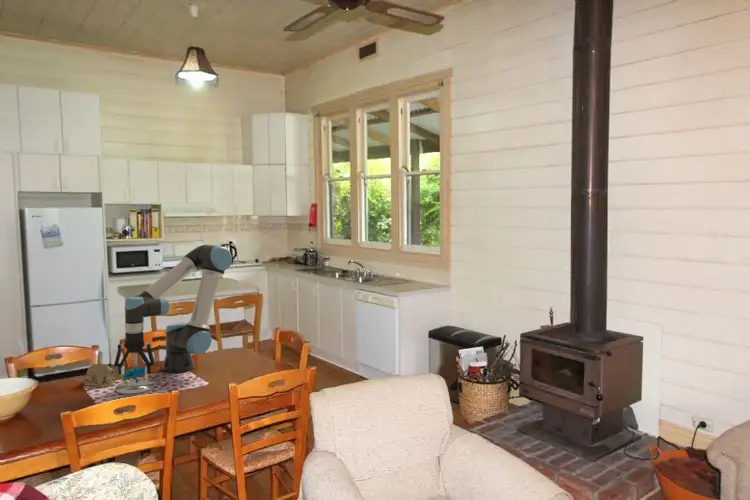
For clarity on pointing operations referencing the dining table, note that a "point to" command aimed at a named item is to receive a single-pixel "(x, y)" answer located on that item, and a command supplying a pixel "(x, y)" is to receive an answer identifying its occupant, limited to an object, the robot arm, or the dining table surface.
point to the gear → (133, 374)
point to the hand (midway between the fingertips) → (134, 380)
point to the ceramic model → (99, 375)
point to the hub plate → (134, 387)
